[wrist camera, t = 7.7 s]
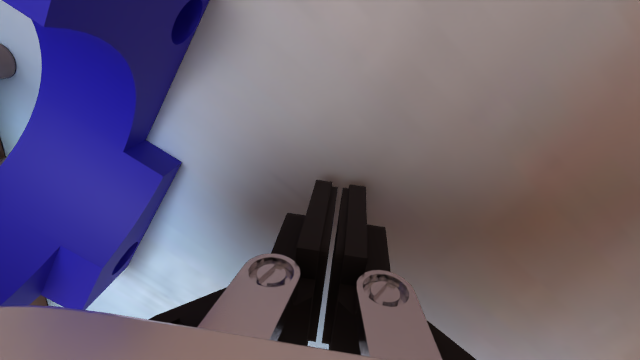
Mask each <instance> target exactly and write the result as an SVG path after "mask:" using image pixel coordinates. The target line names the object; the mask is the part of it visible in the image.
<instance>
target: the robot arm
mask: <svg viewBox="0 0 640 360" xmlns="http://www.w3.org/2000/svg"><path fill="white" fill-rule="evenodd" d="M337 189H338V187H333V186H332V182H328V181H321V180H316V183H315V186H314V190H313V193H312V196H311V200H310V203H309V207H308V210H307V213H306V216H305V215H299V214H292V213H287V215H286V217H285V220H284V222H283V225H282V227H281V230H280V232H279V235H278V237H277V240H276V242H275V245H274V247H273V250H272V252H271V254H263V255H258V256H256V257H254V258H252V259H250V260H249V261H248V262H247V263H246V264H245V265H244V266H243V267H242V269H241V270H240V271H239V273H238V274H237V275H236V276H235V278H234V279H233V280H232V282H231V283H230V284H229V286H228V287H227V288H224V289H222V290H219V291H217V292H214V293H212V294H209V295H207V296H204V297H201V298H199V299H196V300H194V301H191V302H189V303H186V304H184V305H181V306H179V307H176V308H174V309H171V310H169V311H166V312H164V313H161V314H159V315H156V316H154V317H152V318H150V319H148V320H147V319H141V318H135V317H129V316H123V315H117V314H111V313H103V312H95V311H87V310H80V309H72V308H64V307H54V306H36V305H22V306H0V360H476V359H475V358H474V357H472V356H471V355H470V354H469V353H467V352H466V351H465V350H464V349H462V348H461V347H460V346H458V345H457V344H456V343H455V342H453V341H452V340H451V339H450V338H448V337H447V336H446V335H445V334H443V333H442V332H441V331H440V330H438V329H437V328H436V327H435V326H433V325H432V324H431V323H429V322H428V321H427V320H426V318H425V316H424V313H423V311H422V308H421V306H420V303H419V301H418V298H417V296H416V293H415V291H414V289H413V288H412V286H411V284H409V283H408V282H407V281H406V280H405V279H404V278H402V277H400V276H399V275H397V274H394V273H392V272H390V263H389V255H388V246H387V238H386V230H385V227H380V226H373V225H367V216H366V187H363V186H356V185H350V186H349V189H347V188H343V190H342V197H341V204H340V211H339V217H338V224H337V231H336V238H335V245H334V251H333V258H332V266H331V274H330V282H329V290H328V298H327V306H326V314H325V322H324V330H323V338H322V343H326V344H329V350H327V349H322V348H316V347H310V346H307V345H308V341H314V342H316V336H317V329H318V322H319V315H320V309H321V302H322V295H323V288H324V281H325V274H326V267H327V260H328V253H329V246H330V239H331V232H332V225H333V218H334V211H335V204H336V196H337Z"/></svg>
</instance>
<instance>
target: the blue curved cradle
mask: <svg viewBox="0 0 640 360" xmlns="http://www.w3.org/2000/svg"><path fill="white" fill-rule="evenodd" d="M3 1H4V2H6V3H7V4H9V5H10V6H12V7H13V8H15V9H17V10H18V11H20V12H21V13H23V14H24V15H26V16H27V17H29V18H31V19H32V22H33V24H34V26H35V29H36V32H37V35H38V39H39V43H40V49H41V57H42V73H41V83H40V89H39V94H38V97H37V101H36V104H35V107H34V110H33V112H32V115H31V118H30V120H29V122H28V124H27V126H26V128H25V130H24V132H23V134H22V135H21V137H20V139H19V140H18V142H17V144H16V145H15V147H14V148H13V150H12V151H11V152H10V154H9V155H8V157H7V158H6V159H5V161H4V162H3V163H2V164H1V166H0V306H22V305H30V304H31V303H32V302H33V301H34V300H35V299H37V298H38V297H39V296H40V295H42V296H44V297H46V298H48V299H50V300H52V301H53V302H55V303H57V304H59V305H61V306H63V307H65V308H72V309H80V310H86V308H87V307H88V306H89V305H90V304H91V303H92V302H93V301H94V300H95V299H96V298H97V297H98V296H99V295H100V294H101V293H102V292H103V291H104V290H105V289H106V288H107V287H108V286H109V285H110V284H111V283H112V282H113V281H114V280H115V279H116V278H117V277H118V276H119V275H120V273H121V272H122V271H123V270H124V269H125V268H126V267H127V266H128V264H129V262H130V261H131V259H132V257H133V255H134V253H135V251H136V249H137V247H138V245H139V243H140V242H141V240H142V238H143V236H144V234H145V232H146V230H147V228H148V226H149V224H150V222H151V221H152V219H153V217H154V215H155V213H156V211H157V209H158V207H159V205H160V203H161V201H162V200H163V198H164V196H165V194H166V192H167V190H168V188H169V186H170V184H171V182H172V181H173V179H174V177H175V175H176V173H177V171H178V169H179V167H180V165H181V163H182V162H181V161H179V160H177V159H176V158H174V157H172V156H171V155H169V154H168V153H166V152H164V151H163V150H161V149H160V148H158V147H156V146H155V145H153V144H151V143H150V142H148V141H147V140H146V138H147V136H148V134H149V132H150V129H151V127H152V125H153V123H154V121H155V119H156V116H157V114H158V112H159V110H160V108H161V105H162V103H163V101H164V99H165V97H166V95H167V92H168V90H169V88H170V86H171V84H172V81H173V79H174V77H175V75H176V73H177V70H178V68H179V66H180V64H181V62H182V60H183V57H184V55H185V53H186V51H187V49H188V46H189V44H190V42H191V40H192V38H193V35H194V33H195V31H196V29H197V27H198V25H199V22H200V20H201V18H202V16H203V14H204V11H205V9H206V7H207V5H208V3H209V0H3Z"/></svg>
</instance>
